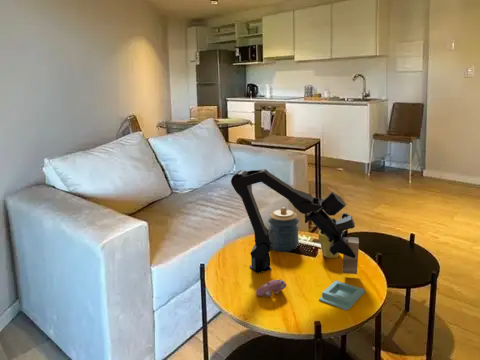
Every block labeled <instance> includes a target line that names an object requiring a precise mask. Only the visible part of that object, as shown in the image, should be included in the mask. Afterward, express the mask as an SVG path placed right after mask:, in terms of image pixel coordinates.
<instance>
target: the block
mask: <svg viewBox="0 0 480 360" xmlns="http://www.w3.org/2000/svg"><path fill="white" fill-rule="evenodd" d="M344 238H345V239H346V240H347V239H348V246H349V247H350V248H351V250H352V251H353V253H354V254H355V256H356V257H355V258H352V257H349V256H346V255H344V254H342V274H350V275H358V266H359V264H358V263H359V249H360V248H359V247H360V239H359V237H356V236H355V237H354V236H353V237H352V236H348V237H344Z"/></svg>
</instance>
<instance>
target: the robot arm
mask: <svg viewBox="0 0 480 360" xmlns="http://www.w3.org/2000/svg"><path fill="white" fill-rule="evenodd" d="M230 183H231V185H232V188H233V189H234V191H235V193H237V195H238V196H240V198H241V200H242V202H243V206H244V208H245V211H246V213H247V216H248V218H249V221H250V224H251V227H252V229H253V233H254V242H255V243H254V245H253V248H252V249H251V252H250V257H251V258H250V259H251V263H250V265H249V268H250V269H251V270H252V271H254V273H256V274H261V273H264V272H269V271H272V267H271V256H270V252H271V250H272V249H271V248H272V246H273V244H274V239H275V237H274V235H273V233H272V229H268V227H267V226H266V225H265V223H264V220H263V217H262V215H261V213H260V210H259V207H258V205H257V202H256V199H255V197H254V194H253V186H252V185H255V184H258V183H263V184H264V185H265V186H267V187H268V188H270V189H271V190H273V191H275V192H276V193H278V194H279V195H280V196H282V197H283V198H285V199H287V200H288V201H289V203H290V204H291V205H292V206H293V207H294V208H295V209H296V210H297V211H298V212H299V213H301V214H303V215H304V224H307V223H309V222H310V221H311V223H313V225H315V226H316V228H318V229H319V231H320V230H321V231H320V233H321V234H323V233H324V234H325V235H326V236H327V238H328V241H329V242H332V241H333V242H332V243H331V244H330V252H331V253H332V254H333V255H335V254H336V253H337V252H338V253H339V254H340V255H343V254H344V255H346V256H349V257H352V258H355V257H356V256H355V254H354V253H353V251H352V250H351V248H350V247H349V246H348V239H347V240H346V239H345V238H344V237H349V236H348V235H349V231H348V230H349V229H354V228H355V227H356V226H355V221H354V218H353V216H352V215H351V214H348V213H347V212H343V213H341V217H340V218H339V219H337V220H336V218H332V217H330V216H333V217H335V215H336V214H338V213H339V212H340V211H342V210H343V209H344V208H346V206H347V204H346V202H345V201H344V200H345V199H343V197H341V196H340V195H338V194H337V193H335V191H331V192H330V193H329V194H328V195H327V196H326V197H325V198H318V197H315V196H312V195H311V194H309V193H308V192H304V191H302V190H298V189H296V188H294V187H292V186H291V185H289V184H287V183H286V182H284V180H282V179H280V178H279V177H278V176H275V175H274V174H273V173H271V172H270V171H268V169H266V168H262V169H253V170H252V169H251V170H244V169H240V170H238V171H237V172H236V173H234V175H233V176H232V178H231V180H230Z"/></svg>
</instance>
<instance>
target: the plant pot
mask: <svg viewBox="0 0 480 360" xmlns="http://www.w3.org/2000/svg"><path fill="white" fill-rule="evenodd" d="M320 231H321V230H320V229H319V230H318V241H319V243H320V248H321V254H322V256H323V257H326V258H327V259H328V258H329V259H336V258H338V257H339V255H340V253H338V252H337V253H336V254H335V255H333V254H332V253H331V252H330V244H331V243H332V242H333V241H332V242H329V241H328V238H327V236H326V235H325V234H324V233H323V234H321V233H320Z"/></svg>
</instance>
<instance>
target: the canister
mask: <svg viewBox="0 0 480 360" xmlns="http://www.w3.org/2000/svg"><path fill="white" fill-rule="evenodd" d="M299 222H300V219H298V215H297V213H296V212H294V211H292V210H290V209H287V207H284V206H282V207H281V208H280V209H276V210H274V211H273V212H271V213H270V217H269V218H268V223H269V225H268V227H267V229H268V230H269V229H272V233H273V235H274V237H275V239H274V244H273V246H272V248H271V250H274V251H276V252H282V253H283V252H284V253H286V252H291V250H293V249H295V248H296V247H297V246H298V247H299V243H300V242H299V230H300V228H299V225H298V224H299ZM298 247H297V248H298ZM295 250H296V249H295ZM293 251H294V250H293Z"/></svg>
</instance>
